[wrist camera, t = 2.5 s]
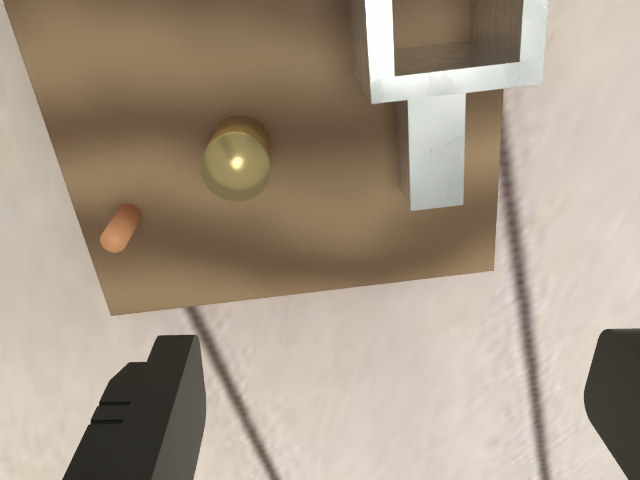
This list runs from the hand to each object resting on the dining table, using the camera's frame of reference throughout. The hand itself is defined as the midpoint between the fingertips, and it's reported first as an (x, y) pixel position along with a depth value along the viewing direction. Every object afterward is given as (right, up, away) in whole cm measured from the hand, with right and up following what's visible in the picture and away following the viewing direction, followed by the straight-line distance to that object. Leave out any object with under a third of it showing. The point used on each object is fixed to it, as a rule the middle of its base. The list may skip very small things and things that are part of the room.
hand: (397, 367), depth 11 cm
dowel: (-11, +4, +17) cm, 21 cm away
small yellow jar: (-5, +7, +16) cm, 18 cm away
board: (-4, +9, +17) cm, 19 cm away
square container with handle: (+3, +11, +15) cm, 18 cm away
